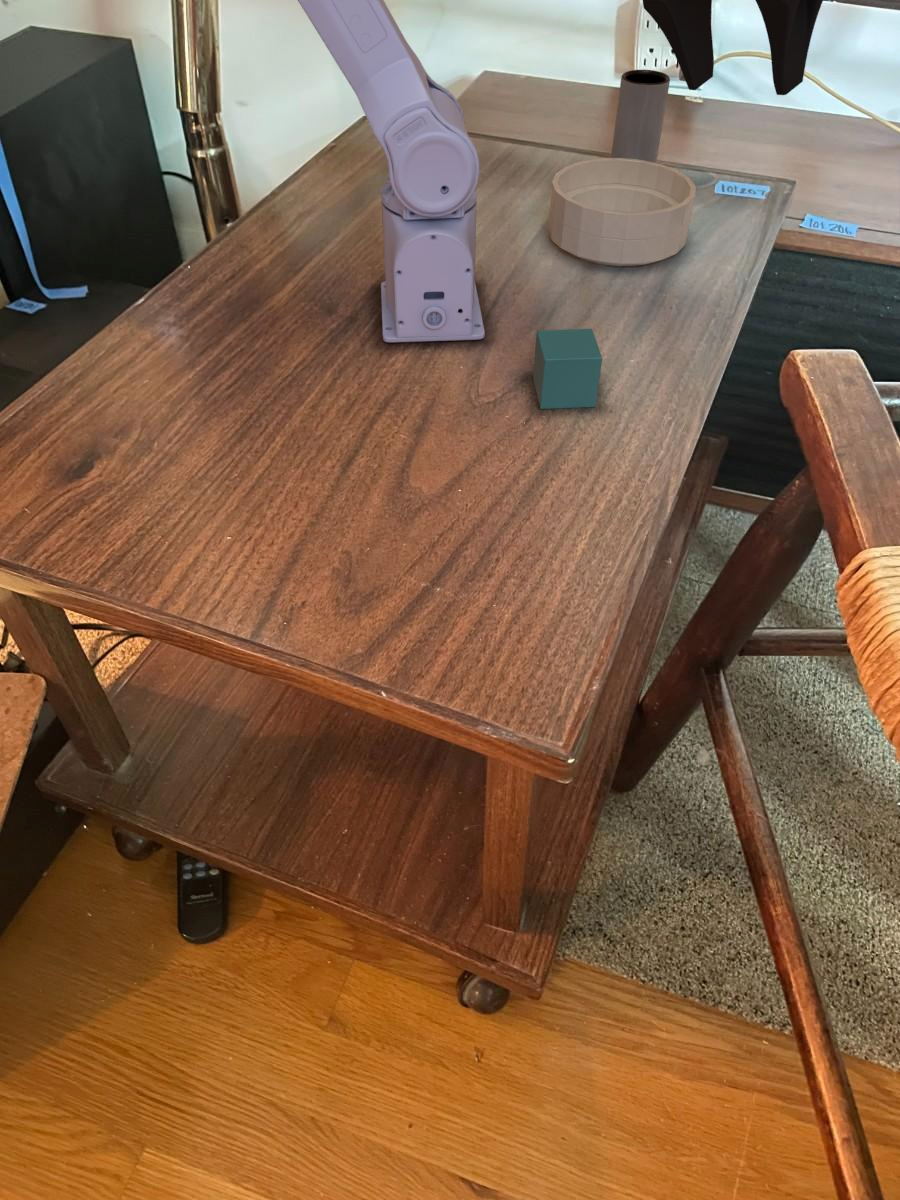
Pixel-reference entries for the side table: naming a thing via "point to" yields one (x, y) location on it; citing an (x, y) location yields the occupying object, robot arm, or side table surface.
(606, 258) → the bowl
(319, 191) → the side table surface
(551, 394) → the block
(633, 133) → the grey cylindrical cup
